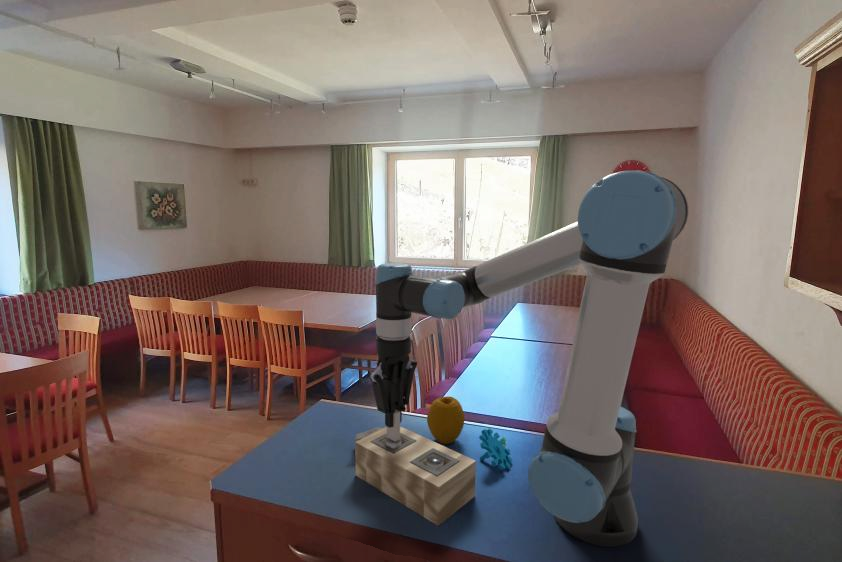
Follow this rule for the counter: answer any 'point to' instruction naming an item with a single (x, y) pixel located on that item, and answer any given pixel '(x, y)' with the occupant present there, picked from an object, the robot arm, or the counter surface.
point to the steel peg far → (393, 443)
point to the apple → (445, 419)
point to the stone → (366, 433)
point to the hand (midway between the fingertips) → (393, 438)
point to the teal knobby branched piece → (495, 449)
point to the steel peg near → (435, 462)
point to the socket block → (416, 473)
